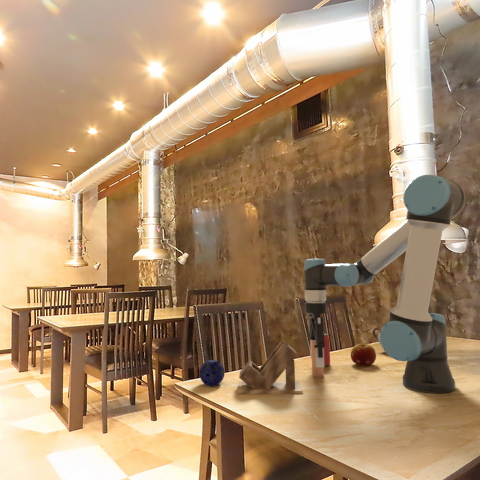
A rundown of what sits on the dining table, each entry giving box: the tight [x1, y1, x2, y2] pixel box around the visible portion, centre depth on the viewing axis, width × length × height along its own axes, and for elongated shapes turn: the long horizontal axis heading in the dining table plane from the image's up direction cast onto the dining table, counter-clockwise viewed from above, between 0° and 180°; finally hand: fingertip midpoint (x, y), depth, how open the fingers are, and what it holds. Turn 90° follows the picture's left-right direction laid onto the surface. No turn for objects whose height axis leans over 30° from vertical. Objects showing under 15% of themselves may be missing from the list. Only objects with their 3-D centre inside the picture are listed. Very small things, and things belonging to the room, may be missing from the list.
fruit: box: [350, 343, 377, 367], centre depth 158 cm, size 10×9×8 cm
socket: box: [236, 339, 304, 395], centre depth 129 cm, size 20×11×16 cm, turn 88°
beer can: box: [324, 332, 331, 367], centre depth 160 cm, size 7×7×12 cm
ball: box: [199, 359, 225, 387], centre depth 135 cm, size 8×8×8 cm
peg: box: [311, 341, 325, 379], centre depth 143 cm, size 4×4×12 cm
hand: (317, 362), depth 143 cm, fingers open, 13 cm apart
